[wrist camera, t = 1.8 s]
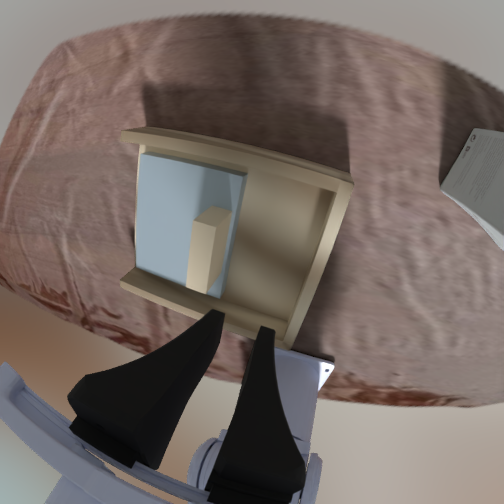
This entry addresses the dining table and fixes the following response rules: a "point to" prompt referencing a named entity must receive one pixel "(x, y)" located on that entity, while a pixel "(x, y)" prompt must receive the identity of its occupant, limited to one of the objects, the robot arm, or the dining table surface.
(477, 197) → the skincare box
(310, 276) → the birch box
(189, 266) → the cover plate
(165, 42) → the dining table surface
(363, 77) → the dining table surface
